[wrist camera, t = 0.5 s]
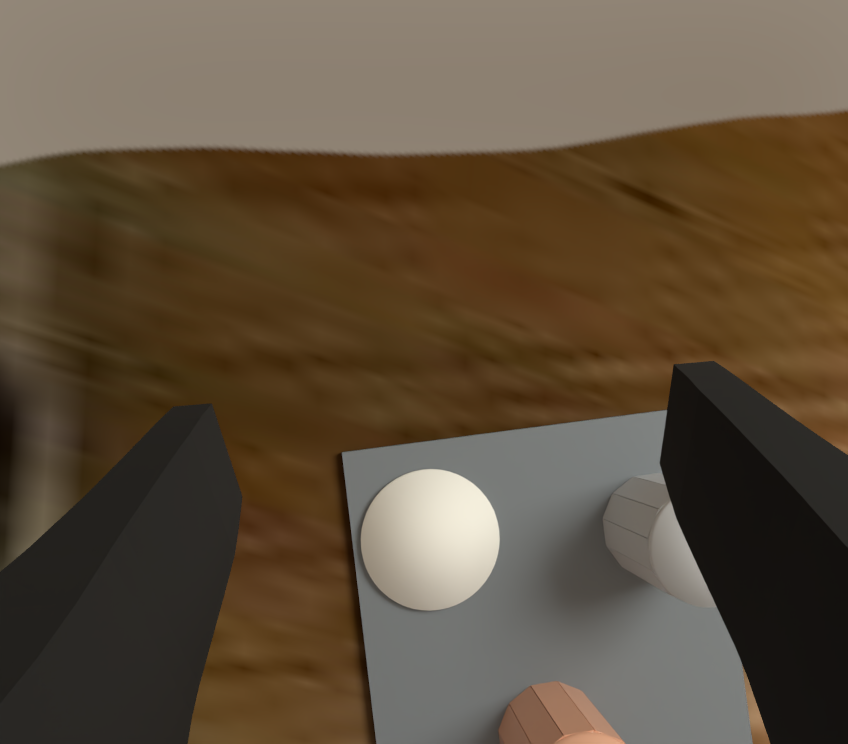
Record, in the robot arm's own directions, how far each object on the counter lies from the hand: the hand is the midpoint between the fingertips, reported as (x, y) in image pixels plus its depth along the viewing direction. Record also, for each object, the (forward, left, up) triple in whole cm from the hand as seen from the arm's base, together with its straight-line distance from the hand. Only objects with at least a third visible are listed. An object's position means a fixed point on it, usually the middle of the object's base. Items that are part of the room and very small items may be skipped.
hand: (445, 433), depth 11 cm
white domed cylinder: (-8, -14, -26) cm, 30 cm away
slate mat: (-13, -8, -26) cm, 30 cm away
